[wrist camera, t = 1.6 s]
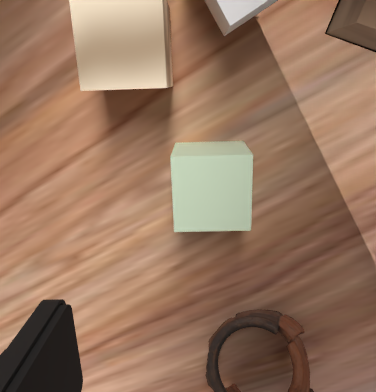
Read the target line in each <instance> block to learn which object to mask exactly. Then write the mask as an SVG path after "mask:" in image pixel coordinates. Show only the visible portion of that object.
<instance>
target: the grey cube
mask: <svg viewBox="0 0 376 392" xmlns="http://www.w3.org/2000/svg"><path fill="white" fill-rule="evenodd" d="M204 1H205V3H206V4H207V6H208V8H209V10H210V12H211V14H212V15H213V17H214V19H215V21H216V23H217V25H218V26H219V28H220V30H221V32H222V34H223V36H226V35H227V34H229V33H230V32H231V31H233V30H234V29H236V28H237V27H239V26H240V25H242V24H243V23H245V22H246V21H248V20H249V19H251V18H252V17H254V16H255V15H257V14H258V13H260V12H261V11H263V10H264V9H266V8H267V7H269V6H270V5H272V4H273V3H275V2H276V1H278V0H204Z"/></svg>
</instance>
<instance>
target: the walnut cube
mask: <svg viewBox="0 0 376 392" xmlns="http://www.w3.org/2000/svg"><path fill="white" fill-rule="evenodd" d="M325 34H327V35H329V36H332V37H335V38H338V39H340V40H343V41H346V42H349V43H351V44H354V45H357V46H360V47H362V48H365V49H368V50H370V51H373V52H376V0H339V1H338V3H337V6H336V8H335V10H334V13H333V15H332V18H331V20H330V22H329V25H328V27H327V30H326V32H325Z"/></svg>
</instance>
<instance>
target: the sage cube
mask: <svg viewBox="0 0 376 392" xmlns="http://www.w3.org/2000/svg"><path fill="white" fill-rule="evenodd" d="M170 159H171V179H172V198H173V218H174V232H199V231H251V215H252V177H253V154H252V152H251V151H250V150H249V148H248V147H247V145H246V144H245V143H244V141H220V142H185V143H175V146H174V148H173V151H172V154H171V157H170Z"/></svg>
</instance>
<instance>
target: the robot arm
mask: <svg viewBox="0 0 376 392" xmlns="http://www.w3.org/2000/svg"><path fill="white" fill-rule="evenodd" d="M82 384H83V377H82V370H81V364H80V358H79V351H78V345H77V339H76V332H75V326H74V320H73V313H72V308H71V305H66V303H65V301H64V300H43V301H42V302H41V303H40V304H39V305H38V307H37V308H36V309H35V311H34V312H33V313H32V315H31V316H30V318H29V319H28V320H27V322H26V323H25V324H24V326H23V327H22V329H21V330H20V331H19V333H18V334H17V335H16V337H15V338H14V339H13V341H12V342H11V344H10V345H9V346H8V348H7V349H6V350H4V352H3V353H2V354H1V355H0V392H81V390H82Z"/></svg>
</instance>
